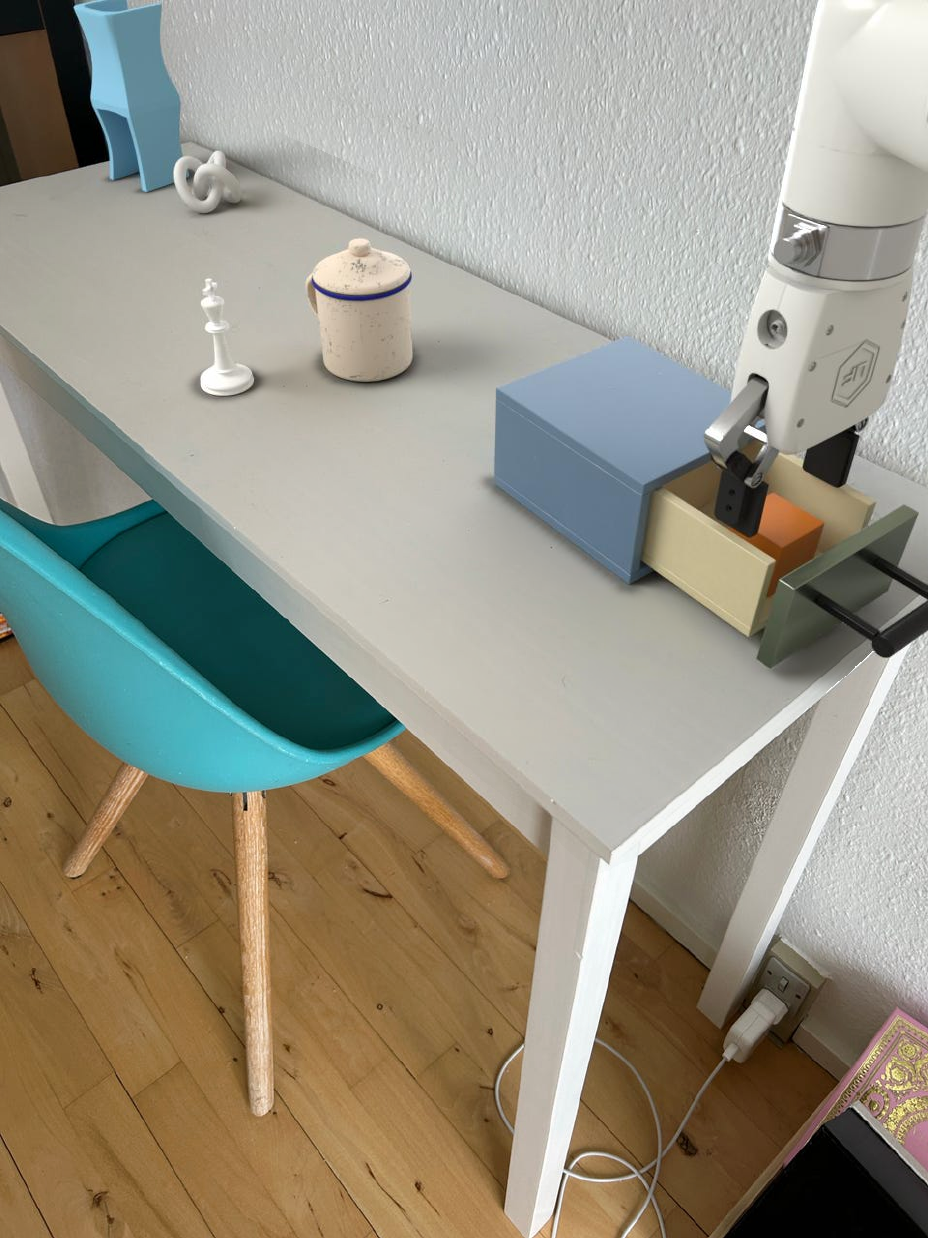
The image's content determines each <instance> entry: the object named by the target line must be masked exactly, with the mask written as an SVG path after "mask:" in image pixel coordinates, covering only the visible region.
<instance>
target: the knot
mask: <svg viewBox="0 0 928 1238" xmlns="http://www.w3.org/2000/svg"><path fill="white" fill-rule="evenodd" d="M226 167H227V159H226V154H225V153H224V152H223V151H221V150H215V151H214V152H213V153H212V154H211V155H210V157H209V158H208V161H206V163H204V162H202V161H201V160H200V159H198V158H196V157H193V156H191V155H185V156H184V155H183V157H181V158H180V159H179V160H178V161H177V162H176V164H175V167H174V185H175V189H176V191H177V193H178V195H179V197H180V199H181V200H182V202H184V204H185V205H186V206H187V207H188V208H189V209H191V210H192V211H194V212H196V213H199V214H208V213H211V212H212V211H214V210H215V209H216V208H217V207H218V205H219V203H220V202H221V200H223V201H225V202H227V203H230V204H238V203H239V202H241V201H242V199H243V189H242V186H241V184H240V182H239V181H238V179H237V178H236V177H235V176H234V174H233V173H231V171H229V170H228V169H227V168H226ZM187 170H192V171H193V172H195V173H194V175H193V180H192V188H191V189H192V190H191V189H190V187H189V185H188V182H187V178H186V171H187ZM209 189H210V191H209ZM208 192H209V194H208ZM207 194H208V196H207ZM206 196H207V197H206Z"/></svg>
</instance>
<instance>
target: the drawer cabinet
mask: <svg viewBox="0 0 928 1238" xmlns="http://www.w3.org/2000/svg"><path fill="white" fill-rule="evenodd" d="M731 394H732V390H730V389H728V388H726V387H724V386H722V385H721V384H719V383H717V382H715V381H713V380H711V379H709V378H708V377H706V376H704V375H702V374H700V373H698V372H696V371H694V370H692V369H691V368H689V367H687V366H685V365H683V364H681V363H679V362H677V361H676V360H674V359H672V358H670V357H668V356H667V355H664V354H663V353H660V352H659V351H657V350H655V349H653V348H652V347H650V346H648V345H646V344H644V343H643V342H641V341H638V340H636V339H635V338H634V337H631V336H629V335H626V336H623V337H621V338H618V339H616V340H614V341H611V342H608V343H605V344H603V345H601V346H598V347H595V348H593V349H590V350H588V351H585V352H583V353H581V354H578V355H575V356H573V357H571V358H568V359H566V360H563V361H560V362H558V363H555V364H553V365H551V366H548V367H545V368H543V369H540V370H538V371H536V372H532V373H530V374H527V375H524V376H522V377H520V378H517V379H514V380H513V381H510V382H508V383H505V384H502V385H500V386H498V387H496V388H495V411H494V413H495V414H494V415H495V419H494V456H493V457H494V458H493V459H494V460H493V484H494V485H495V486H497V488H498V489H500V490H502V491H503V492H504V493H506V494H507V495H508V496H510V497H511V498H513V500H514V501H516V502H518V503H519V504H520V505H522V506H523V507H525V508H526V509H527V510H528V511H529V512H531V513H533V514H534V515H535V516H536V517H538V518H539V519H541V520H542V521H543V522H545V523H546V524H547V525H548V526H550V527H552V529H554V530H555V531H556V532H558V533H559V534H561V535H562V536H563V537H565V538H566V539H567V540H569V541H570V542H572V543H573V544H574V545H575V546H577V548H579V549H581V550H582V551H583V552H585V553H586V554H587V555H588V556H590V557H591V558H592V559H594V560H595V561H596V562H597V563H599V564H600V565H602V566H604V567H605V568H606V569H607V570H609V572H611V573H612V574H614V575H616V576H617V577H618V578H619V579H621V580H622V581H623V582H625V583H626V584H627V585H631V584H633V583H635V582H637V581H639V580H640V579H642V578H643V577H646V576H648V575H649V574H651V573H653V572H656V571H655V570H654V569H653V568H651V567H650V566H648V565H647V564H646V563H644V562H643V561H641V554H642V548H643V541H644V535H645V529H646V522H647V516H648V510H649V503H650V497H651V491H652V490H654V489H656V488H658V487H660V486H662V485H664V484H666V483H668V482H670V481H672V480H674V479H676V478H678V477H680V476H682V475H684V474H686V473H688V472H690V471H692V470H694V469H696V468H698V467H700V466H702V465H704V464H706V463H708V462H710V461H712V460H711V458H710V455H711V454H710V452H709V450H708V448H707V446H706V444H705V442H704V434H705V432H706V430H707V429H708V428H709V427H710V426H711V425H712V423H713V422H714V421H715V420H716V419H717V418H718V417H719V415H720V414H721V413H722V412H723V411H724V410H725V409H726V407H727V406H728V405H729V404H730V401H731ZM754 427H756V428H758V429H760V430H762V431H764V432H766V433H767V431H766V425H765V419H762V420H760V421H758V422H757V423H756V425H755V426H754ZM752 440H754V438H752V437H751V438H750V439H749V441H748V442H750V441H752Z"/></svg>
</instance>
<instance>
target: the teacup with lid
mask: <svg viewBox="0 0 928 1238" xmlns="http://www.w3.org/2000/svg"><path fill="white" fill-rule="evenodd" d="M412 279H413V274H412V271H411V268H410V266H409V264H408V263H407V262H406V261H405V260H404V258H402V257H400V256H398V255H397V254H394V253H391V252H389V251H385V250H379V249H377V248H374V247H372V244H371V242H370V240H369V239H366V238H362V237H359V238H354V239H351V240H350V241H349V242H348V245H347V249H345V250H342V251H340V252H337V253H333V254H331V255H328V256H326V257H325V258H323V259H322V260H320V261H319V262H318V263H317V264H316V265H315V267H314V268H313V271H312V273H311V274H310V275H308V276H307V278H306V280H305V285H304V287H305V288H304V289H305V295H306V298H307V299H306V300H307V302H308V304H309V307H310V309H311V310H312V313H313V314H314V315H315V316H316V318H317V319H318V324H319V335H320V344H321V351H322V352H321V353H322V361H323V364H324V367H325V368H326V369H327V370H328V371H329V373H331V374H332V375H334V376H336V377H338V378H340V379H342V380H343V379H344V380H347V381H351V382H358V383H359V382H360V383H369V382H378V381H383V380H387V379H388V380H389V379H391V378H394V377H397V376H398V375H399V374H401V373H403V372H405V371H406V370H407V369H408V368H409V367H410V365H411V364H412V361H413V355H414V354H413V334H412V333H413V332H412V330H413V329H412V312H411V311H412V310H411V309H412V308H411V285H410V283H411V282H412Z"/></svg>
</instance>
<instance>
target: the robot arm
mask: <svg viewBox="0 0 928 1238" xmlns="http://www.w3.org/2000/svg"><path fill="white" fill-rule="evenodd" d="M800 85H801V86H800V89H799V93H798V99H797V105H796V111H795V116H794V121H793V126H792V131H791V137H790V142H789V146H788V151H787V157H786V161H785V162H786V163H785V168H784V173H783V177H782V184H781V188H780V193H779V194H780V195H779V199H778V204H777V210H776V214H775V220H774V225H773V230H772V235H771V241H770V246H769V249H768V250H769V251H768V255H767V256H768V257H767V258H768V259H767V261H768V263H769V266H767V267H766V268H765V271H764V274H763V276H762V279H761V282H760V285H759V287H758V290H757V293H756V296H755V300H754V303H753V305H752V309H751V311H750V315H749V319H748V322H747V325H746V327H745V328H746V329H745V332H744V336H743V339H742V343H741V347H740V351H739V356H738V360H737V364H736V368H735V373H734V378H733V383H732V390H731V391H732V394H731V401H730V404H729V405H728V406H727V407H726V409H725V410H724V411H723V412H722V413H721V414H720V415H719V417H718V418H717V419H716V420H715V421H714V422H713V423H712V425H711V426H710V427H709V428H708V429H707V430H706V432H705V434H704V442H705V444H706V446H707V448H708V450H709V452H710V454H711V455H710V458H711V460H712V461H713V462H714V463H715V464H716V465H717V468H718V469H719V470H721V471H722V473H721V479H720V484H719V489H718V495H717V500H716V505H715V511H714V515H715V517H716V518H717V519H718V520H720V521H721V522H723V523H725V524H726V525H728V526H729V527H731V528H733V529H734V530H736V531H738V532H739V533H741V534H743V535H744V536H746V537H748V538H751V537H753V536H755V535H756V534H757V533H758V530H759V526H760V522H761V517H762V513H763V508H764V504H765V500H766V495H767V491H768V486H769V484H767V483H766V482H764V481H763V479H764V477H765V476H766V474H767V472H768V471H769V469H770V467H771V465H772V464H773V462H774V460H775V459H776V457H777V455H778V454H779V452H781V453H783V454H785V455H792V454H793V455H795V454H799V453H801V452H804V451H805V455H804V459H803V460H804V462H803V470H804V471H805V472H807V473H809V474H811V475H813V476H815V477H817V478H819V479H820V480H822V481H824V482H826V483H828V484H830V485H832V486H833V487H836V488H839V487H841V486H843V485H845V484H847V480H848V478H849V475H850V471H851V468H852V464H853V461H854V458H855V454H856V452H857V448H858V444H859V440H860V437H861V435H860V434H859V433H862V432H863V431H864V430H865V429H866V428H867V426H868V423H869V421H870V417H871V416H872V415H874V414H875V413H876V412H877V411H879V410H880V409H881V407H882V406H883V405H884V403H885V401H886V400H887V397H888V393H889V390H890V387H891V383H892V380H893V376H894V372H895V368H896V365H897V362H898V358H899V352H900V349H901V344H902V340H903V336H904V330H905V326H906V322H907V317H908V312H909V307H910V301H911V294H912V287H913V279H914V266H915V265H914V264H915V256H916V252H917V249H918V245H919V242H920V239H921V235H922V232H923V228H924V226H925V221H926V218H927V215H928V0H818V2H817V5H816V10H815V13H814V18H813V22H812V26H811V32H810V38H809V42H808V47H807V53H806V58H805V63H804V69H803V74H802V78H801V84H800ZM762 419H765V425H766V431H767V433H766V432H764V431H762V430H760V429H758V428H756V427H754V426H755V425H756V423H757V422H758V421H760V420H762ZM857 433H858V434H857ZM751 437H752V438H754V439H756V440H758V441H760V442H762V443H764V445H763V447H762V449H761V450H760V452H759V454H758V456H757V457H756V459H755V461H754V462H753V463H752V462H751V461H750V460H749V459H748V458H747V457H746V456H745V455H744V454H743V453H742V451H743V450H744V448H745V446H746V444H747V443H748V441H749V439H750V438H751Z"/></svg>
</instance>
